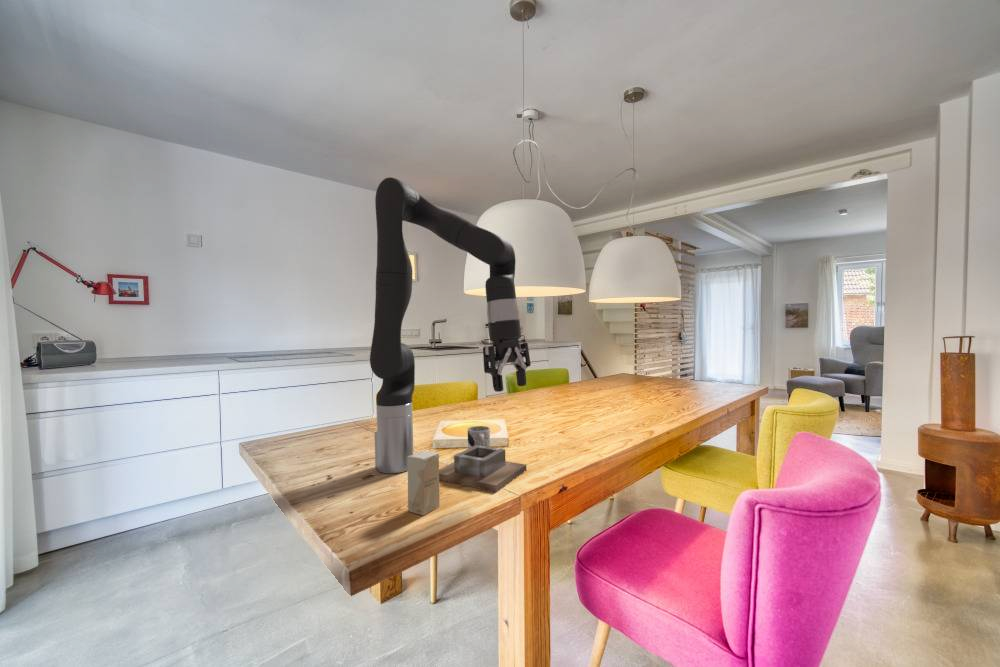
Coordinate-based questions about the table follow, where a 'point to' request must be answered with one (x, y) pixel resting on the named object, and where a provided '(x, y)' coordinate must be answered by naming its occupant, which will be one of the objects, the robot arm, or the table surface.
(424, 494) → the box
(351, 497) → the table surface
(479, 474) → the socket
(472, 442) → the mug
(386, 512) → the table surface
